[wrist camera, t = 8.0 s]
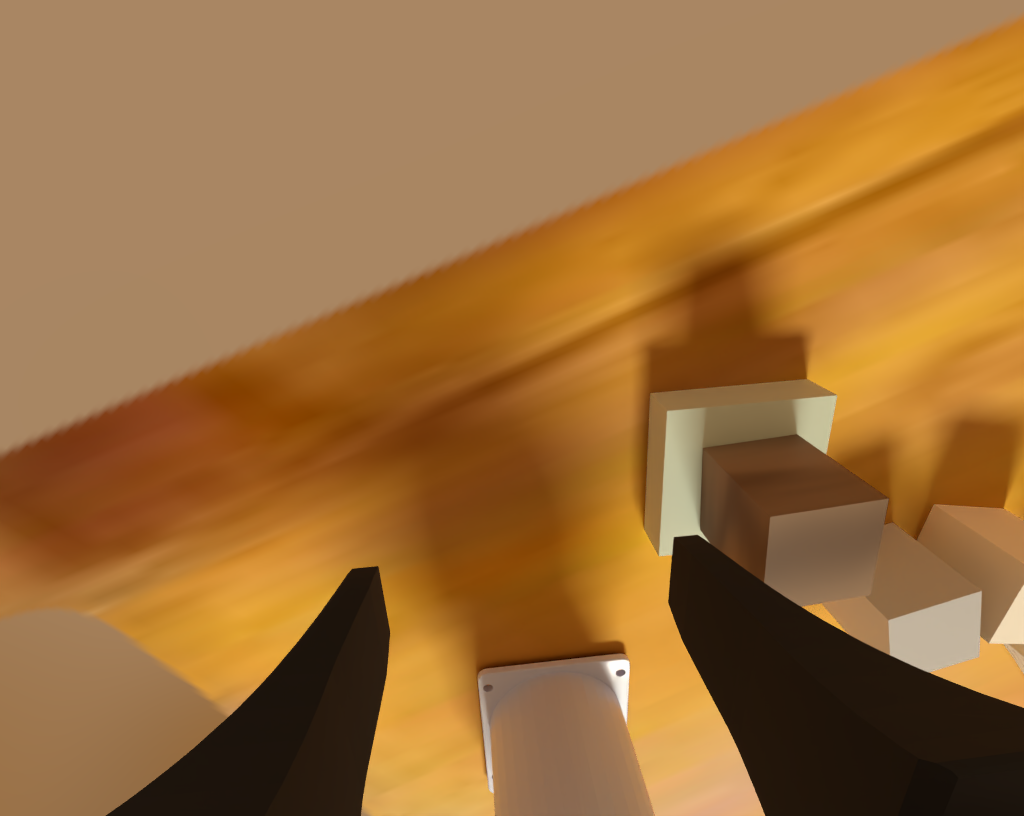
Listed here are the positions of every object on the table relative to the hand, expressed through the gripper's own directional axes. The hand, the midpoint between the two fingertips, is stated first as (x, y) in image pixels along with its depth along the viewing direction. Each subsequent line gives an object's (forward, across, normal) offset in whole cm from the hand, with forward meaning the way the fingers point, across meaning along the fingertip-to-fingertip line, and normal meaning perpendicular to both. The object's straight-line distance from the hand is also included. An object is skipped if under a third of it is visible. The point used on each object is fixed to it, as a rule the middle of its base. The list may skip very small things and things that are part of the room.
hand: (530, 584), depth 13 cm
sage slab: (+11, -10, +3) cm, 15 cm away
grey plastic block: (+10, -18, +10) cm, 23 cm away
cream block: (+10, -23, +9) cm, 27 cm away
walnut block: (+8, -10, +3) cm, 14 cm away
